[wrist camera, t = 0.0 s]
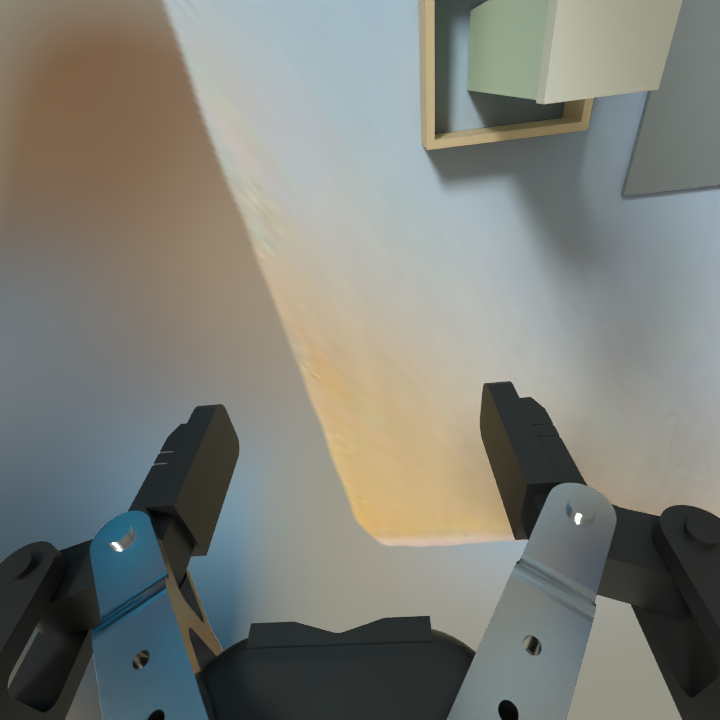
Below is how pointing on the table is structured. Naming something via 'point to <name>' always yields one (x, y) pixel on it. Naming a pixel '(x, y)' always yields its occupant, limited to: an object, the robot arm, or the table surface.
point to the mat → (682, 110)
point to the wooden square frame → (571, 121)
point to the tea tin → (569, 47)
